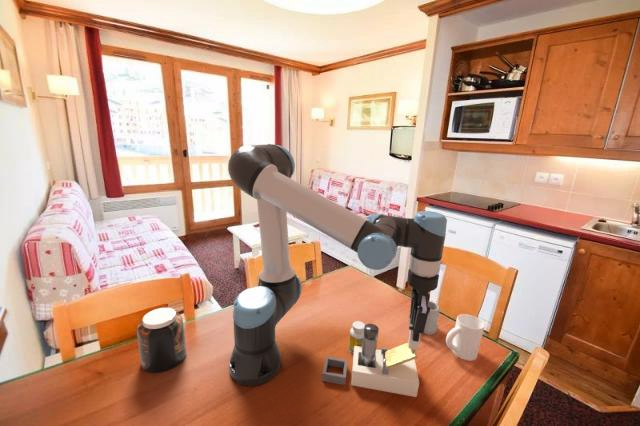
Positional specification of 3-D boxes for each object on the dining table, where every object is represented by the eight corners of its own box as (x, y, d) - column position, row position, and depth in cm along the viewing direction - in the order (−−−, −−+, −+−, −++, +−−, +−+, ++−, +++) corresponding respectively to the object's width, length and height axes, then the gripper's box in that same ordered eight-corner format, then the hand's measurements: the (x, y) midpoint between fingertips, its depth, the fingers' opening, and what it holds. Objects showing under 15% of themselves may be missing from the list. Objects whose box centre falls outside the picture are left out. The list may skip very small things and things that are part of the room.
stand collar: (322, 380, 81) (322, 373, 81) (325, 363, 88) (326, 356, 87) (345, 384, 80) (345, 377, 80) (346, 366, 87) (347, 360, 86)
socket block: (351, 385, 80) (353, 365, 78) (353, 358, 90) (354, 340, 88) (416, 397, 78) (420, 377, 76) (411, 368, 87) (414, 350, 85)
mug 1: (441, 333, 104) (447, 305, 100) (413, 338, 101) (418, 308, 97) (428, 320, 111) (433, 293, 108) (401, 324, 108) (406, 296, 104)
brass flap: (384, 370, 80) (382, 368, 79) (383, 355, 85) (381, 352, 85) (417, 358, 77) (415, 355, 77) (413, 343, 82) (412, 340, 82)
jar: (152, 380, 78) (146, 335, 74) (135, 359, 85) (128, 316, 81) (193, 356, 88) (189, 314, 84) (174, 339, 94) (170, 299, 90)
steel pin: (359, 378, 83) (364, 331, 79) (359, 367, 87) (364, 322, 82) (373, 380, 82) (378, 333, 78) (372, 369, 86) (378, 324, 82)
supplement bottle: (357, 341, 97) (359, 317, 95) (368, 351, 93) (370, 326, 91) (345, 347, 94) (347, 322, 92) (355, 358, 90) (358, 332, 88)
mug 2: (435, 346, 97) (441, 316, 94) (464, 341, 100) (471, 312, 97) (451, 364, 90) (458, 332, 86) (482, 358, 93) (490, 327, 89)
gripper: (445, 285, 66) (431, 367, 73) (433, 261, 79) (422, 333, 85) (412, 281, 68) (401, 362, 74) (405, 259, 80) (397, 330, 86)
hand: (413, 347), depth 79 cm, fingers closed
